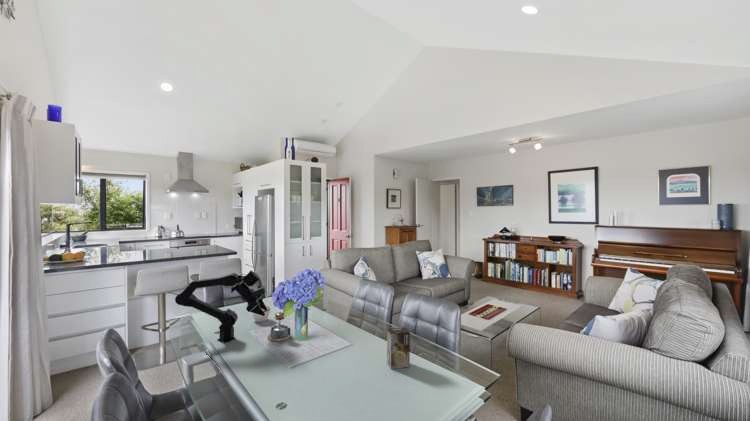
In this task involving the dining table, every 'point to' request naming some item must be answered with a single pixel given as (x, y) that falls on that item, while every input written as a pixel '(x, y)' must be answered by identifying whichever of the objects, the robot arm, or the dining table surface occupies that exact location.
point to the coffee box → (398, 348)
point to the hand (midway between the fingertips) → (265, 312)
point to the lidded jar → (259, 317)
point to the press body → (279, 334)
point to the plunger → (279, 317)
